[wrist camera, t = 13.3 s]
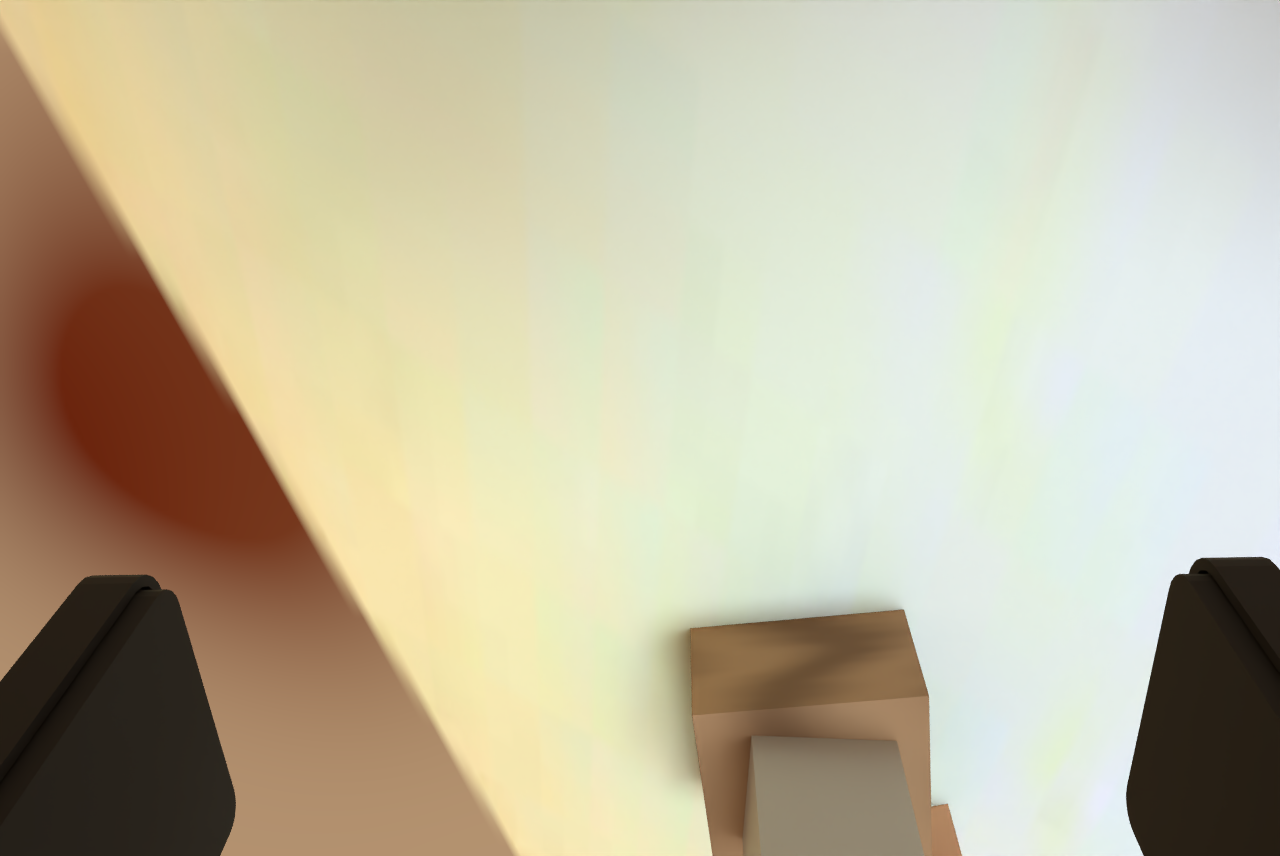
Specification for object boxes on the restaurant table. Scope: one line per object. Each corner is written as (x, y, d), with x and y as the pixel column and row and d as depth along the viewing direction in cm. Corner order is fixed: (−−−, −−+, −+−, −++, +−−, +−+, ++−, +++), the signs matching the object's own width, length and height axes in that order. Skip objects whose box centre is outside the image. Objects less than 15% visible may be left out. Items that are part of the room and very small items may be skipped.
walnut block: (902, 605, 43) (928, 695, 38) (907, 763, 46) (932, 862, 42) (690, 624, 43) (692, 715, 39) (712, 778, 47) (716, 877, 43)
